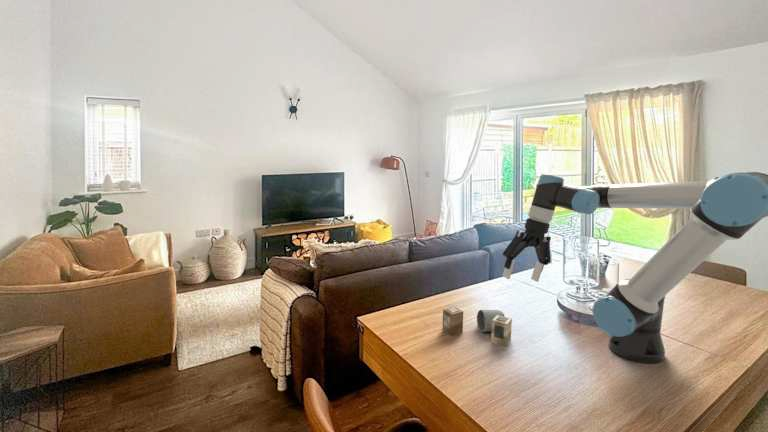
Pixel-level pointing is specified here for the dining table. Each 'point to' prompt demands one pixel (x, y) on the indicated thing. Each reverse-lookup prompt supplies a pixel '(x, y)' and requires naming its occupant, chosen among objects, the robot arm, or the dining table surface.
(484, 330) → the ceramic mug
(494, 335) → the beige framed block
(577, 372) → the dining table surface
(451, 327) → the walnut numeral block
